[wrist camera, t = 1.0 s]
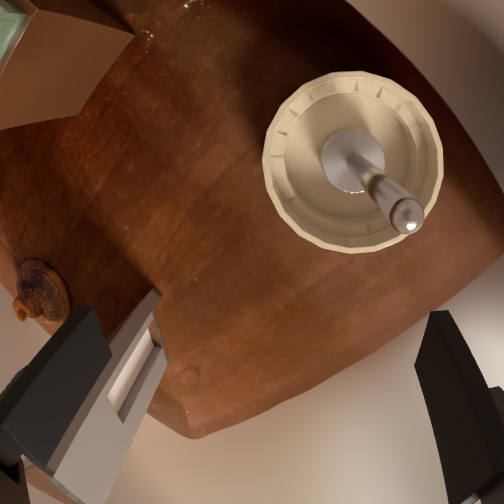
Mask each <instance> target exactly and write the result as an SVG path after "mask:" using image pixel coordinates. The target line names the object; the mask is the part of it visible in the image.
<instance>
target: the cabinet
mask: <svg viewBox="0 0 504 504" xmlns="http://www.w3.org/2000/svg"><path fill="white" fill-rule="evenodd" d="M161 296H162V295H161V294H160V293H159V292H158V291H157V290H155V289H154V288H152V289H151V290H150V292H149V293H148V294H147V295H146V296H145V297H144V298H143V299H142V300H141V301H140V302H139V303H138V305H137V306H136V307H135V308H134V309H133V310H132V311H131V312H130V313H129V314H128V315H127V317H126V318H125V319H124V320H123V321H122V322H121V323H120V324H119V325H118V327H117V328H116V329H115V330H114V331H113V332H112V333H111V334H110V336H109V337H108V338H107V339H106V341H107V343H108V346H109V348H110V350H111V352H112V355H113V356H112V358H111V359H110V361H109V362H108V364H107V365H106V367H105V368H104V370H103V372H102V373H101V375H100V376H99V378H98V380H97V381H96V383H95V384H94V386H93V388H92V389H91V391H90V392H89V394H88V396H87V397H86V399H85V400H84V402H83V404H82V405H81V407H80V409H79V410H78V412H77V414H76V415H75V417H74V419H73V420H72V422H71V424H70V425H69V427H68V429H67V431H66V432H65V434H64V436H63V437H62V439H61V441H60V443H59V444H58V446H57V448H56V450H55V451H54V453H53V455H52V457H51V458H50V460H49V462H48V464H47V466H46V468H45V469H43V468H41V467H39V466H37V465H36V464H34V463H32V462H30V461H29V460H28V459H27V458H25V460H24V461H23V463H24V468H25V476H26V482H28V483H29V484H31V485H32V486H34V487H36V488H37V489H39V490H41V491H43V492H44V493H46V494H48V495H50V496H52V497H53V498H55V499H57V500H59V501H61V502H63V503H65V504H105V503H106V500H107V498H108V496H109V493H110V491H111V489H112V487H113V484H114V482H115V480H116V477H117V475H118V473H119V470H120V468H121V466H122V463H123V461H124V459H125V457H126V454H127V452H128V450H129V448H130V446H131V443H132V441H133V439H134V437H135V434H136V432H137V430H138V428H139V426H140V423H141V421H142V419H143V417H144V415H145V412H146V410H147V408H148V406H149V404H150V401H151V399H152V397H153V395H154V393H155V391H156V388H157V386H158V384H159V382H160V380H161V378H162V376H163V373H164V371H165V369H166V367H167V365H168V363H169V361H168V358H167V354H166V351H165V348H164V345H163V341H162V338H161V335H160V331H159V328H158V324H157V321H156V317H155V314H154V310H153V309H154V307H155V306H156V304H157V302H158V301H159V299H160V298H161Z"/></svg>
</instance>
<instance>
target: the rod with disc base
mask: <svg viewBox="0 0 504 504" xmlns="http://www.w3.org/2000/svg"><path fill="white" fill-rule="evenodd" d="M320 163H321V166H322V169H323V171H324V173H325V176H326V177H327V179H328V180H329V181H330V183H331V184H332V185H334V186H335V187H336V188H338V189H340V190H342V191H345V192H349V193H360V192H364V191H366V192H367V194H368V195H369V196H370V197H371V199H372V200H373V201H374V203H375V204H376V205H377V207H378V208H379V209H380V211H381V212H382V213H383V215H384V216H385V218H386V219H387V220H388V222H389V223H390V225H391V226H392V227H393V228H394V229H395V230H396V231H397V232H399V233H401V234H412V233H414V232H416V231H418V230H419V229H420V227H421V226H422V224H423V222H424V210H423V207H422V205H421V204H420V203H419V202H418V201H417V200H416V199H415V198H414V197H413V196H412V195H411V194H409V193H408V192H407V191H406V190H405V189H403V188H402V187H401V186H400V185H399V184H397V183H396V182H395V181H394V180H393V179H391V178H390V177H389V176H388V175H386V174H385V173H384V169H385V155H384V151H383V149H382V147H381V145H380V143H379V142H378V141H377V139H376V138H375V137H373V136H372V135H371V134H369V133H367V132H365V131H362V130H360V129H356V128H352V127H344V128H340V129H337V130H335V131H333V132H332V133H330V134H329V135H328V136H327V137H326V138H325V140H324V141H323V143H322V146H321V149H320Z"/></svg>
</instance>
